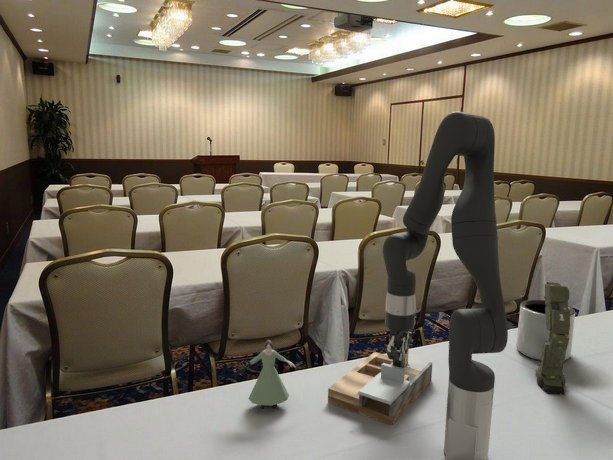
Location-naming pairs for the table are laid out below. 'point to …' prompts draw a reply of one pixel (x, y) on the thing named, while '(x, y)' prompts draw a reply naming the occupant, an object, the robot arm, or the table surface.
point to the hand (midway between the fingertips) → (397, 371)
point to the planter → (537, 329)
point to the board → (348, 398)
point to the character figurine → (267, 379)
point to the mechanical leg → (555, 339)
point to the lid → (386, 384)
